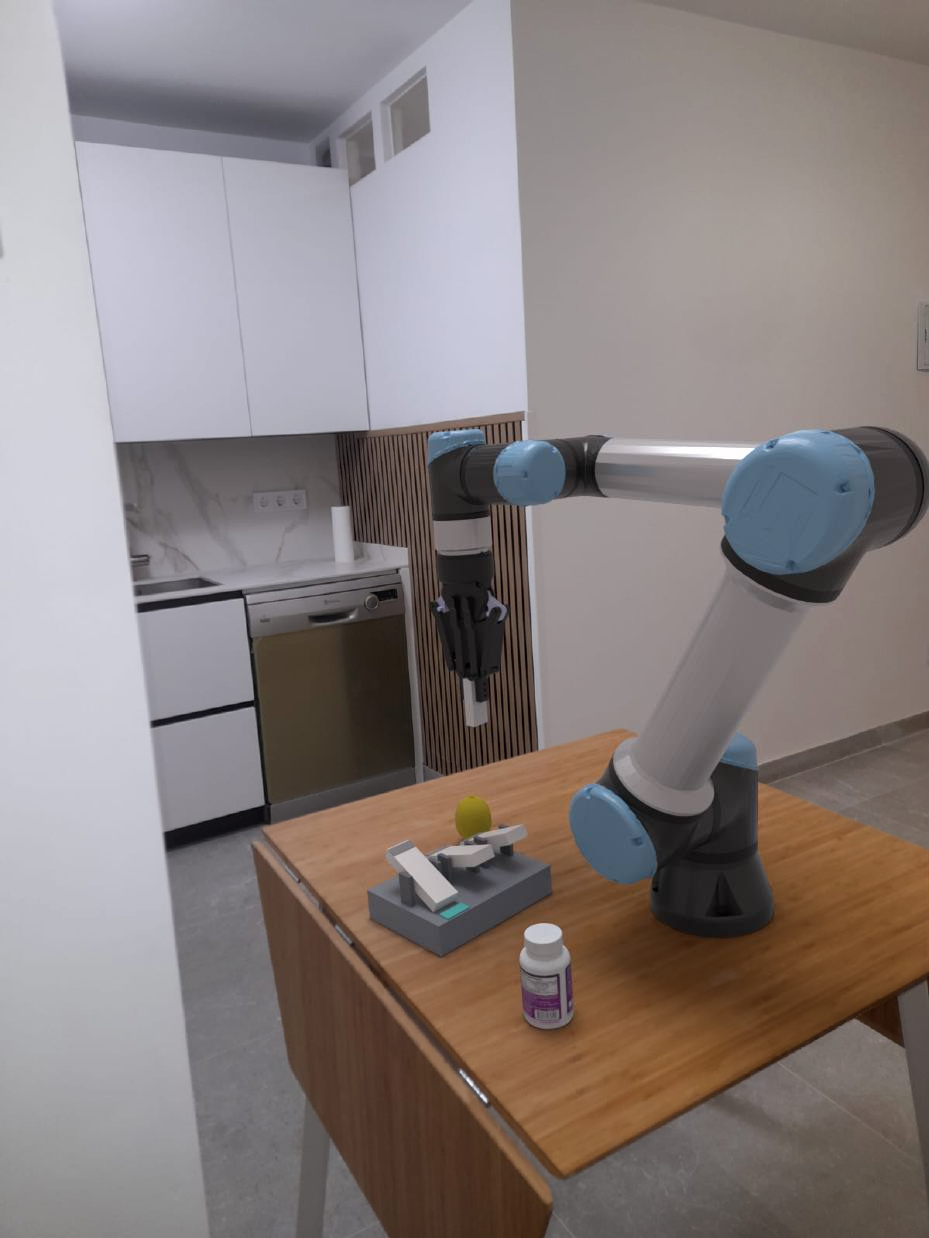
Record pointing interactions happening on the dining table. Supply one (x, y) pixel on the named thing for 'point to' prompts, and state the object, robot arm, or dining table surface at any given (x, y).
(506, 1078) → the dining table surface
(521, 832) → the rocker
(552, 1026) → the pill bottle
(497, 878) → the console
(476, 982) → the dining table surface
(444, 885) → the rocker
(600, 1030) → the dining table surface
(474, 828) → the lemon
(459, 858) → the rocker
